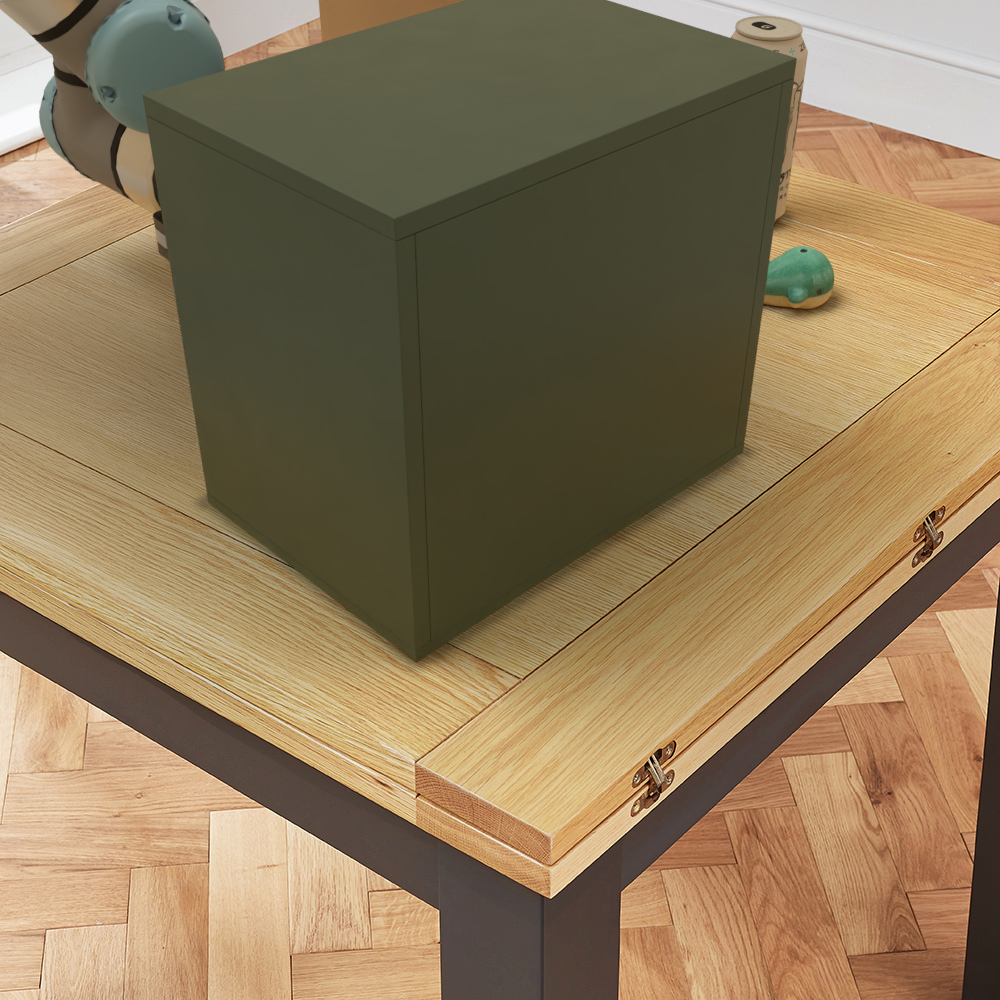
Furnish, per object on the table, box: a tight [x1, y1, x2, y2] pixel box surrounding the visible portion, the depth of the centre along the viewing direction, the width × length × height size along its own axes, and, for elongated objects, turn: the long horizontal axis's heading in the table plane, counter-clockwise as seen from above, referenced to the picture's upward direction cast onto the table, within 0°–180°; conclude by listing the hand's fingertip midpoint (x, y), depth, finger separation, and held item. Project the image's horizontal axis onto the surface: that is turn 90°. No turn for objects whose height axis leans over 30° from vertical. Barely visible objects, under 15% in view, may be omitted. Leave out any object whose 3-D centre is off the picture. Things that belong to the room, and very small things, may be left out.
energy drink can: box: [730, 15, 809, 222], centre depth 102 cm, size 6×6×15 cm
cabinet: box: [143, 0, 797, 663], centre depth 72 cm, size 18×26×24 cm
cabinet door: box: [318, 0, 464, 42], centre depth 94 cm, size 7×26×24 cm, turn 34°
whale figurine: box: [763, 245, 835, 310], centre depth 95 cm, size 6×7×4 cm
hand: (417, 291), depth 75 cm, fingers open, 13 cm apart
